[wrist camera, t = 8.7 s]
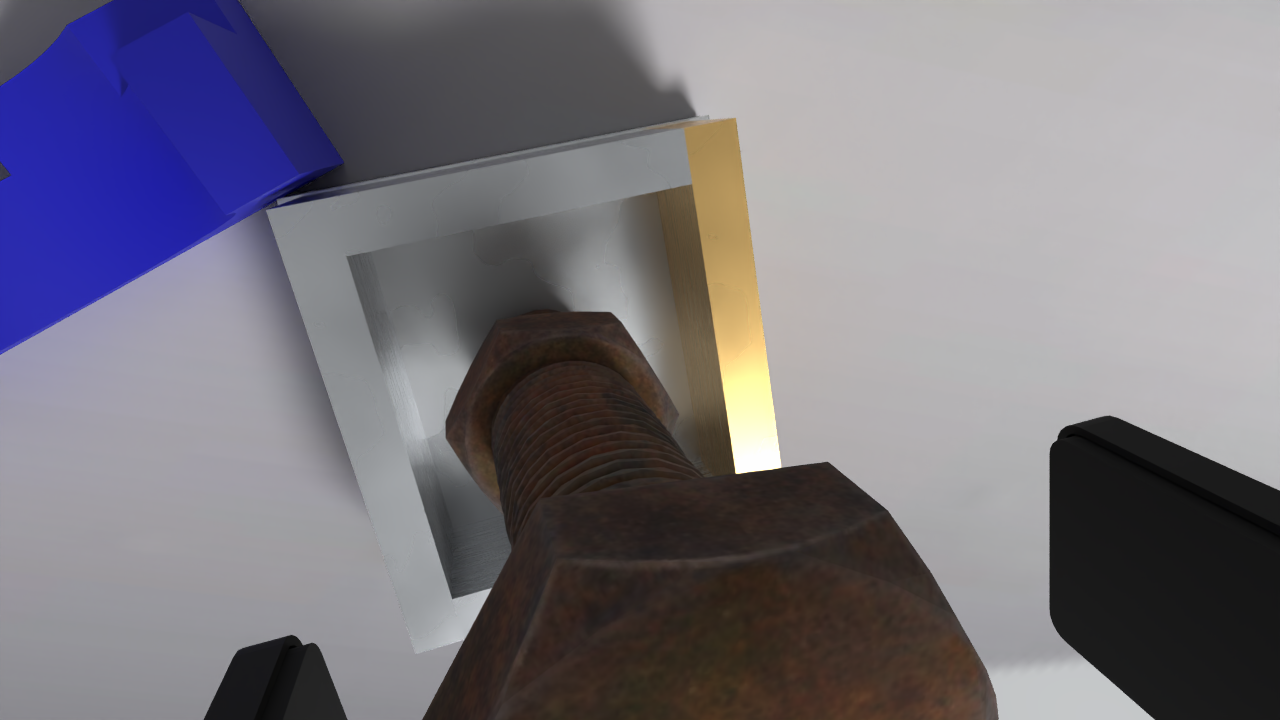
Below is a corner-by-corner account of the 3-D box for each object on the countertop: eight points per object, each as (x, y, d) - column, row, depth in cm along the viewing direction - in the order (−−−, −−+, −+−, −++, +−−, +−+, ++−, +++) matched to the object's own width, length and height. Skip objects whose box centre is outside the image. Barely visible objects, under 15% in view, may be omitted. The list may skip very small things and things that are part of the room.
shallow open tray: (697, 115, 21) (758, 110, 16) (748, 468, 24) (809, 538, 20) (285, 196, 19) (235, 213, 15) (405, 564, 22) (393, 662, 18)
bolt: (394, 328, 19) (264, 792, 5) (558, 222, 20) (845, 394, 6) (520, 492, 21) (667, 1140, 7) (666, 394, 22) (1075, 835, 8)
